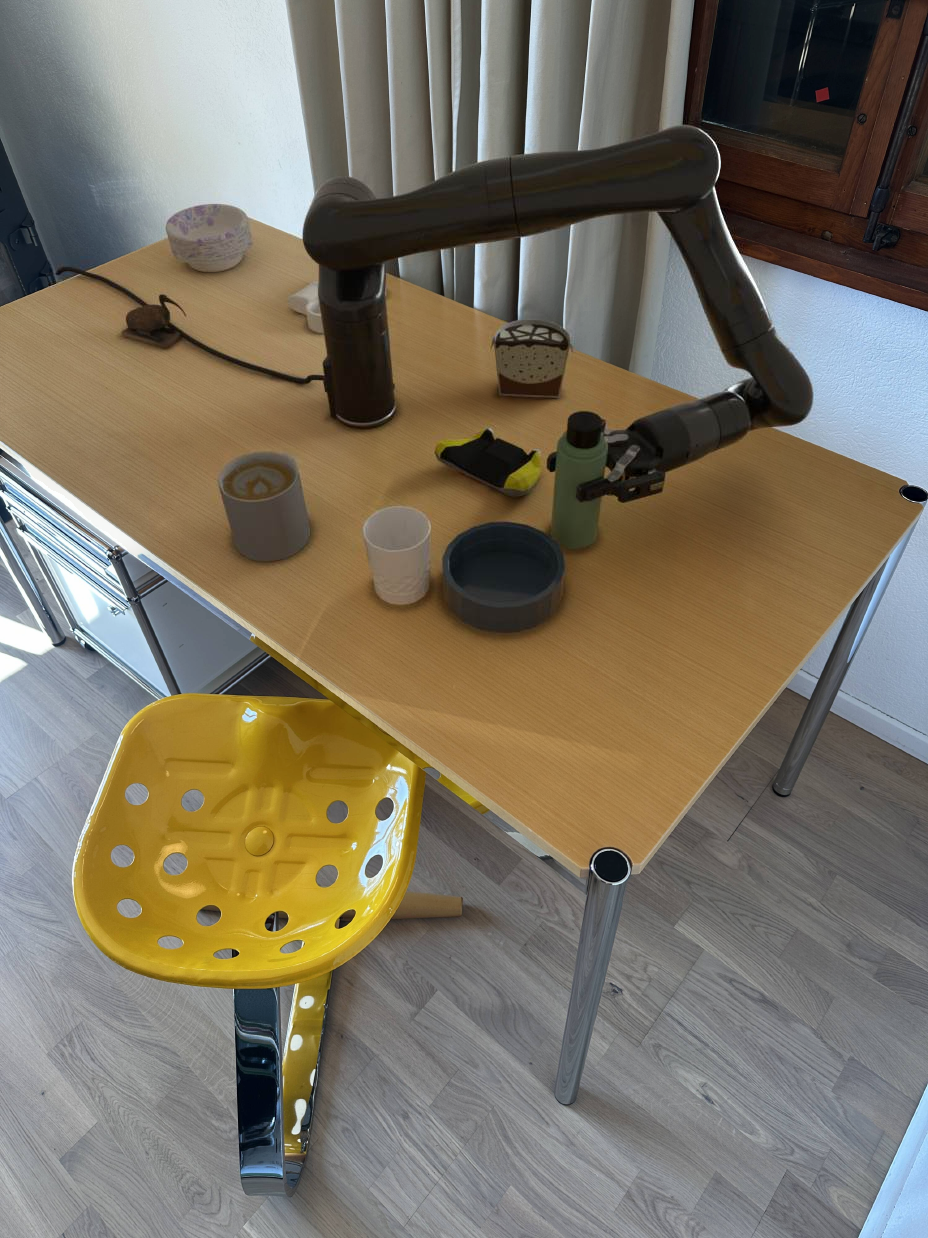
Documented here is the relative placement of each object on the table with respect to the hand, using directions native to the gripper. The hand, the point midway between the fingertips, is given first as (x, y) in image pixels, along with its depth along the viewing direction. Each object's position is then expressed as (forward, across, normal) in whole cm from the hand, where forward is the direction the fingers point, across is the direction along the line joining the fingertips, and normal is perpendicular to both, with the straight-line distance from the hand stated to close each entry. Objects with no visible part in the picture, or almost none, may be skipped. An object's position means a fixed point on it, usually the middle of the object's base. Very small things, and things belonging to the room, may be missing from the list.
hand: (563, 479), depth 106 cm
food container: (-16, -33, +11) cm, 38 cm away
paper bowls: (+14, -100, +10) cm, 101 cm away
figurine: (+31, -76, +10) cm, 83 cm away
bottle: (-2, 0, +10) cm, 11 cm away
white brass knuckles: (0, -71, +10) cm, 71 cm away
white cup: (+21, -3, +10) cm, 24 cm away
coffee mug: (+31, -21, +10) cm, 38 cm away
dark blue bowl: (+11, +4, +10) cm, 16 cm away
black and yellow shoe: (+1, -16, +11) cm, 19 cm away
